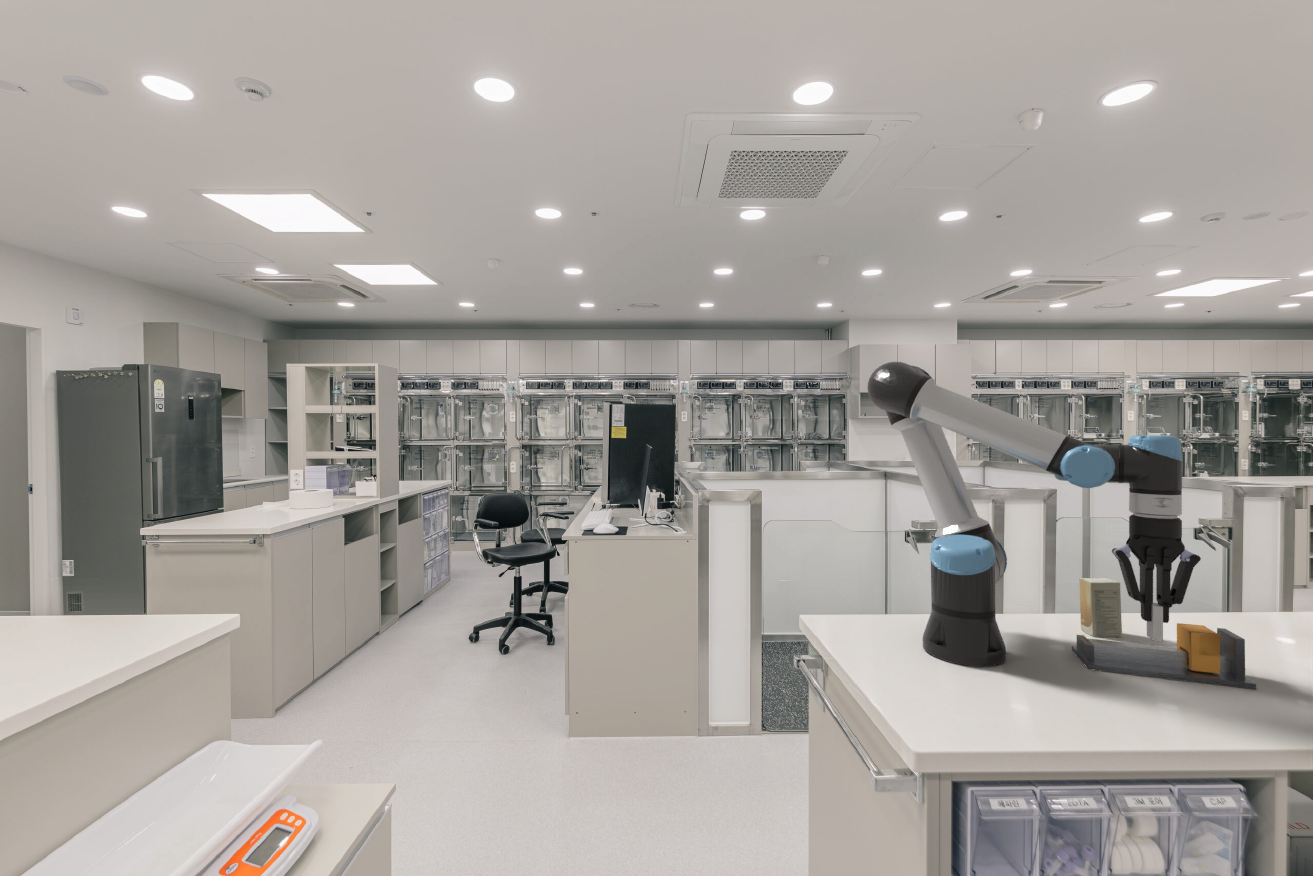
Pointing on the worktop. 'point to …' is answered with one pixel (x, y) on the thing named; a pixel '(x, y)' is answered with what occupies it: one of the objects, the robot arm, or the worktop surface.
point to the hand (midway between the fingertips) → (1154, 638)
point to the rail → (1166, 672)
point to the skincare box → (1100, 607)
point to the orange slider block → (1200, 647)
